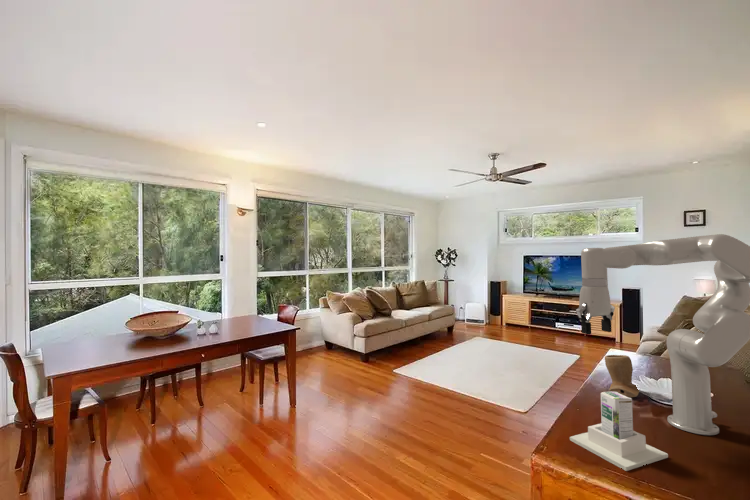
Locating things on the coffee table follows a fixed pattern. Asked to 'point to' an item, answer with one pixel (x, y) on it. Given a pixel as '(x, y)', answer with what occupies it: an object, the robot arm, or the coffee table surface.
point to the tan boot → (621, 375)
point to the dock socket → (619, 448)
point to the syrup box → (616, 415)
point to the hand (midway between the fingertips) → (596, 332)
